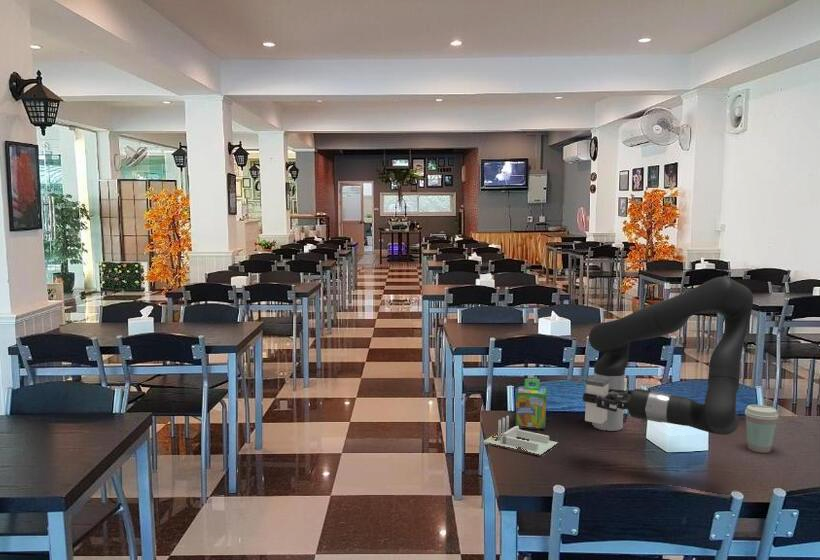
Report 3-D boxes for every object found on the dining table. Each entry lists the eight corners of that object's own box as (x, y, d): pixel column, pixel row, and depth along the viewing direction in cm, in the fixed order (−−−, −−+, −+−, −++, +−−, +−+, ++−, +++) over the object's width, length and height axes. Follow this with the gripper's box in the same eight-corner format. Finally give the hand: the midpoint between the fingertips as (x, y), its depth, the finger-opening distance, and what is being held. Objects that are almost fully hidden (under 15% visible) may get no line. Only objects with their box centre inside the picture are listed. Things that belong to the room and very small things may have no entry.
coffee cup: (779, 449, 191) (782, 408, 190) (771, 457, 185) (774, 414, 184) (747, 442, 197) (750, 402, 196) (738, 449, 191) (740, 408, 190)
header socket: (540, 457, 183) (541, 433, 183) (482, 443, 194) (483, 421, 193) (557, 445, 193) (558, 422, 192) (502, 432, 203) (502, 411, 203)
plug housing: (590, 416, 183) (592, 377, 182) (607, 419, 180) (608, 379, 179) (585, 420, 179) (586, 380, 178) (601, 423, 177) (603, 383, 176)
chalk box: (515, 428, 207) (516, 382, 206) (517, 420, 216) (518, 375, 215) (545, 431, 205) (546, 384, 204) (546, 422, 214) (547, 376, 213)
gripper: (659, 385, 176) (596, 376, 186) (644, 397, 165) (577, 386, 175) (658, 413, 177) (595, 402, 187) (642, 427, 166) (576, 414, 175)
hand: (587, 394), depth 181 cm, fingers closed on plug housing, 4 cm apart
